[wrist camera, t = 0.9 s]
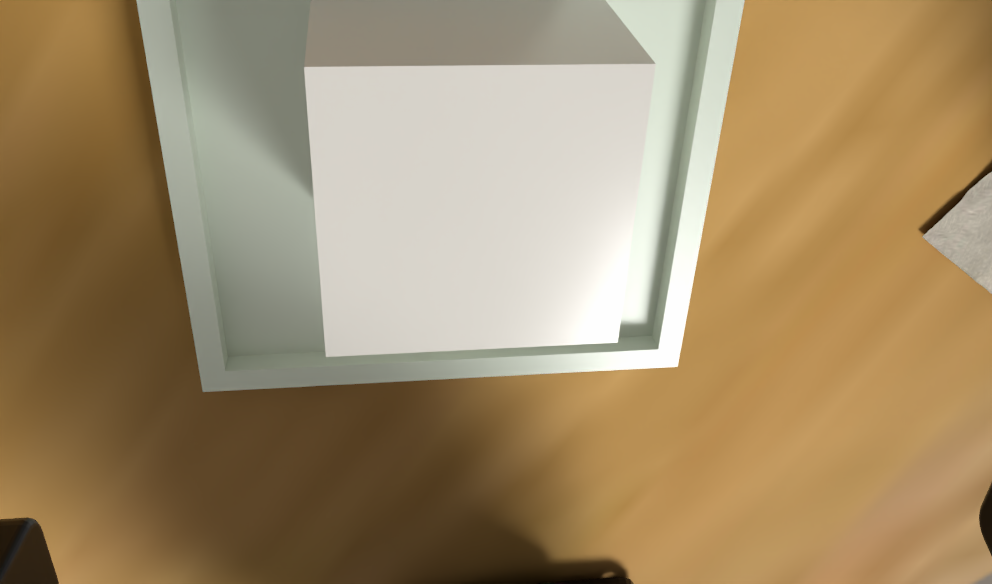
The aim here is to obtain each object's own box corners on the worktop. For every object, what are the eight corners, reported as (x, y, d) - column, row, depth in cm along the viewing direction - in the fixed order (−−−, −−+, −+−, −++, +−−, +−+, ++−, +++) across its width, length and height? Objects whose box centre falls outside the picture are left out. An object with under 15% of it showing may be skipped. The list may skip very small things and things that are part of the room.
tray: (664, 339, 21) (677, 366, 20) (208, 361, 20) (203, 391, 19) (770, -282, 15) (795, -279, 14) (100, -310, 13) (83, -308, 13)
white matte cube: (562, 206, 18) (617, 342, 15) (329, 213, 18) (326, 357, 14) (583, -29, 16) (655, 63, 12) (313, -30, 15) (303, 67, 12)
